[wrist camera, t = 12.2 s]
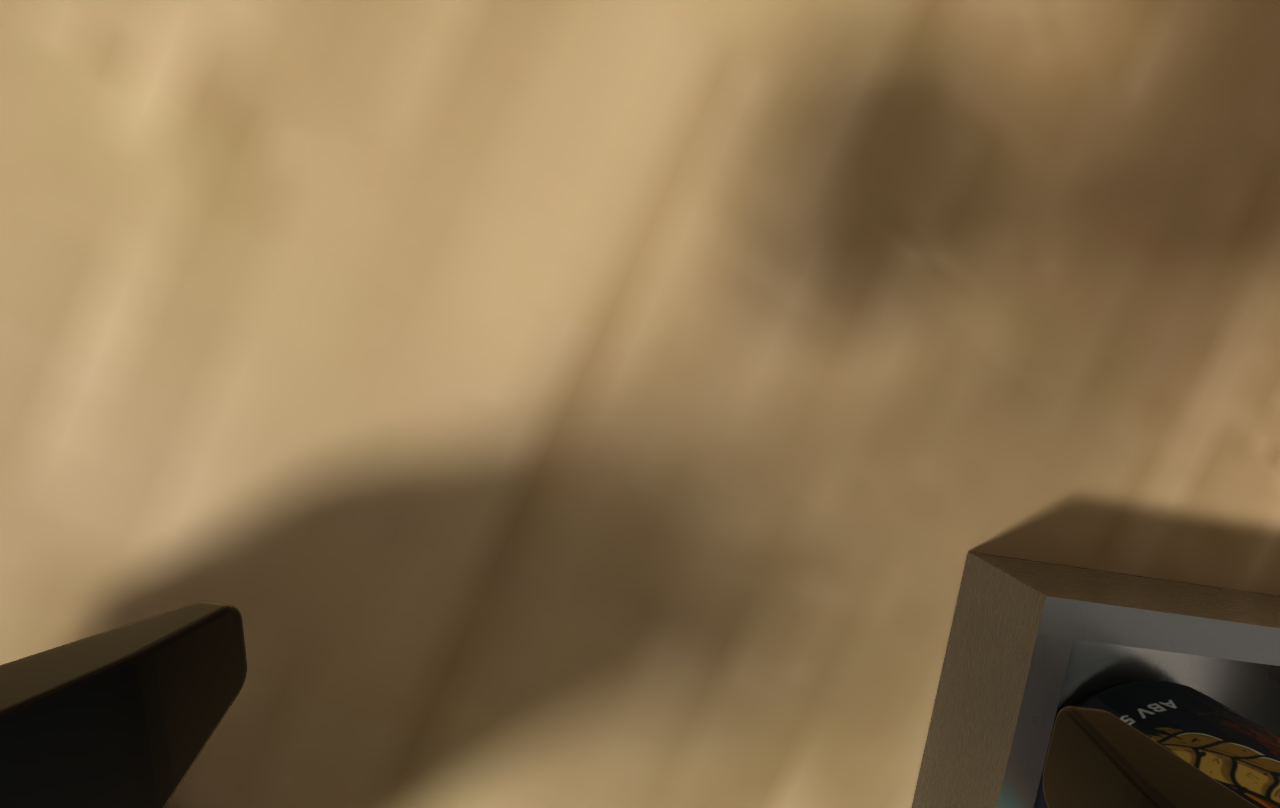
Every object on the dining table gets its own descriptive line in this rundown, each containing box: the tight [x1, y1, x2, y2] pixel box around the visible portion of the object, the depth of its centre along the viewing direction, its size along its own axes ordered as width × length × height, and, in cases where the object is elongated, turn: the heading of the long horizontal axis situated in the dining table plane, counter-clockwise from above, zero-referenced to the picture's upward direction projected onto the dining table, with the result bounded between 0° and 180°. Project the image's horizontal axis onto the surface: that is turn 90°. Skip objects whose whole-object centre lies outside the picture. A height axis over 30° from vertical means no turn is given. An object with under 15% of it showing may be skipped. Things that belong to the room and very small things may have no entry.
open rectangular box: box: [912, 552, 1280, 808], centre depth 21 cm, size 12×12×4 cm
